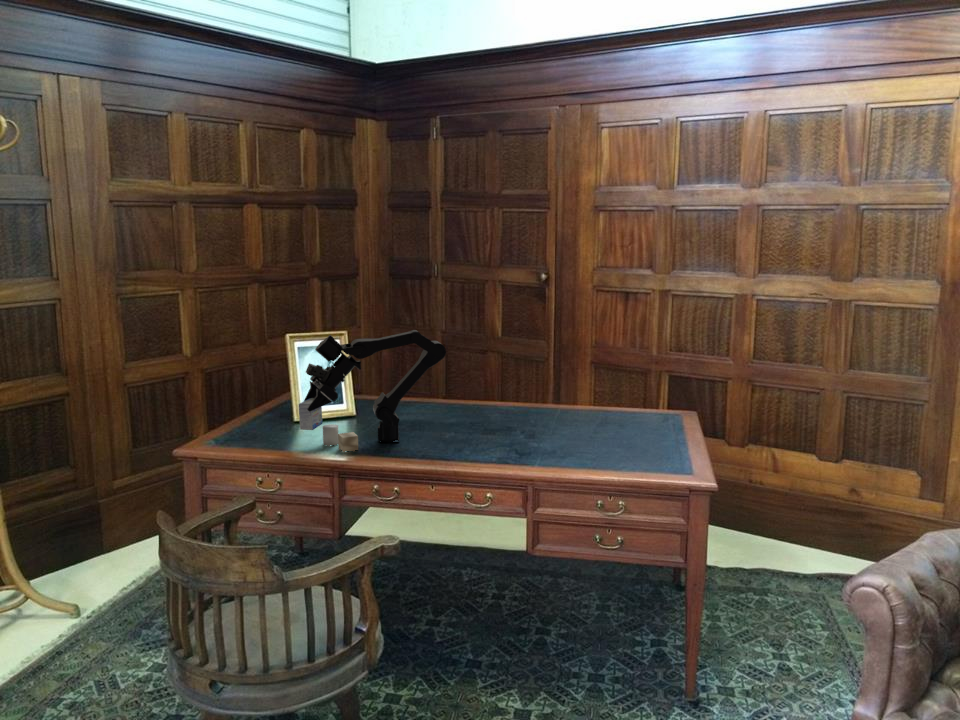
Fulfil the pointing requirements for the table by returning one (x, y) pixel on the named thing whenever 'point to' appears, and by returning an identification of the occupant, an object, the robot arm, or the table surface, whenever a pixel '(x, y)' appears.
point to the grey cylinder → (330, 434)
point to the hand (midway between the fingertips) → (306, 407)
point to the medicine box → (309, 416)
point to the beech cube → (348, 441)
